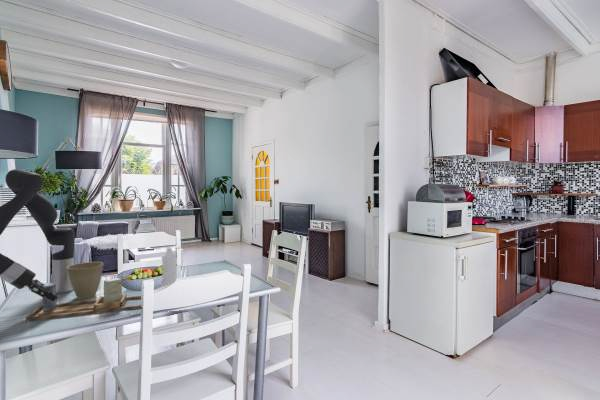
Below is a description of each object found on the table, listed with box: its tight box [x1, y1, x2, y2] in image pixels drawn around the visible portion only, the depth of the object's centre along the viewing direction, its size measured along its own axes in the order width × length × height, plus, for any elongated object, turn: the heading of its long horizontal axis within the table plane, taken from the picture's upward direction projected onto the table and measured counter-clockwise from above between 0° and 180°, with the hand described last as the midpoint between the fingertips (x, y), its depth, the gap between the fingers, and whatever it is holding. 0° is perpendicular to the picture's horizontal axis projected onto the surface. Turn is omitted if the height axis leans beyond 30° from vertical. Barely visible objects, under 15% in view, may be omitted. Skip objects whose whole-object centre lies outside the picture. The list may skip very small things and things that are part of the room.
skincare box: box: [103, 277, 123, 303], centre depth 143 cm, size 6×4×12 cm
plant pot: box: [67, 261, 104, 300], centre depth 156 cm, size 15×15×16 cm
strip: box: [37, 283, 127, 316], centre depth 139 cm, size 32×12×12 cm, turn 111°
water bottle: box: [161, 245, 180, 287], centre depth 155 cm, size 9×6×25 cm
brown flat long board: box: [25, 294, 142, 322], centre depth 141 cm, size 44×15×2 cm, turn 111°
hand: (55, 297), depth 136 cm, fingers closed on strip, 4 cm apart
